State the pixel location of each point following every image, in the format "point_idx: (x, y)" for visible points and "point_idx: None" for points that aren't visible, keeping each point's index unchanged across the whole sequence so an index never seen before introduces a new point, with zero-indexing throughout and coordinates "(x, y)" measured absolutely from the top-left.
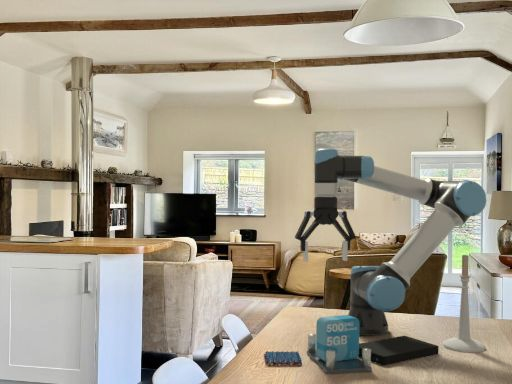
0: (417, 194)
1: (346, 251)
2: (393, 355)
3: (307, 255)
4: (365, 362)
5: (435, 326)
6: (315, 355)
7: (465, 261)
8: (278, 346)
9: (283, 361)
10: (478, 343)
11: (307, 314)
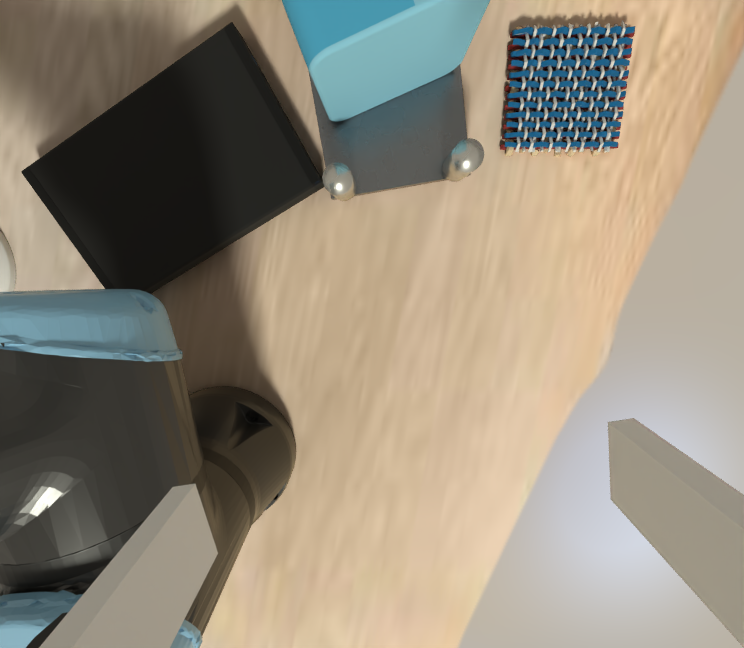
0: None
1: (114, 571)
2: (193, 49)
3: (666, 460)
4: None
5: None
6: (452, 113)
7: None
8: (543, 264)
9: (577, 28)
10: None
11: (384, 626)
